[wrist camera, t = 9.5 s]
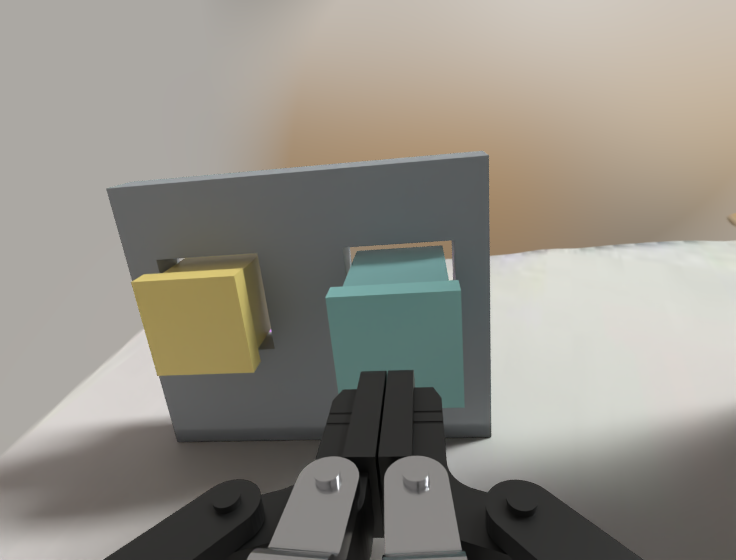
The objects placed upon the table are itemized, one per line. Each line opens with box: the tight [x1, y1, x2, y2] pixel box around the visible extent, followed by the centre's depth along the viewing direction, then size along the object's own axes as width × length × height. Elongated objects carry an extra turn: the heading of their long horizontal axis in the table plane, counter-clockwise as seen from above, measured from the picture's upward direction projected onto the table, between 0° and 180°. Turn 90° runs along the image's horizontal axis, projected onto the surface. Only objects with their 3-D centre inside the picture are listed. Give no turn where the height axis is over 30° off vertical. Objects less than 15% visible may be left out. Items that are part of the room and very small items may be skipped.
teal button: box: [325, 246, 465, 408], centre depth 20 cm, size 5×6×5 cm
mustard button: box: [131, 253, 271, 376], centre depth 24 cm, size 5×6×5 cm
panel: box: [107, 151, 491, 442], centre depth 25 cm, size 17×5×14 cm, turn 85°
